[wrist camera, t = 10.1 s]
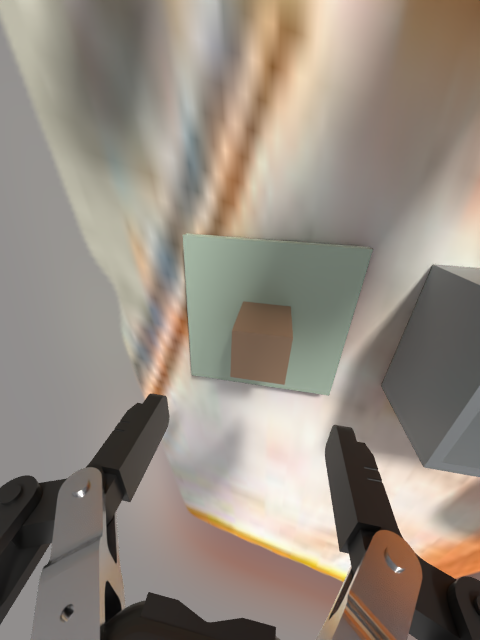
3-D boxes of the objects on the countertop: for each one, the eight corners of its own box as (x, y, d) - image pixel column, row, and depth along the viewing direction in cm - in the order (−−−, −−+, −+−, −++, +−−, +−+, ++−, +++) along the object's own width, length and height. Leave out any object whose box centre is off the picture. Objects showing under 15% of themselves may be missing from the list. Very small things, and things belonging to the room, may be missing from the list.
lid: (189, 232, 20) (151, 246, 14) (366, 245, 18) (405, 267, 12) (196, 365, 26) (172, 413, 20) (326, 384, 25) (339, 441, 19)
